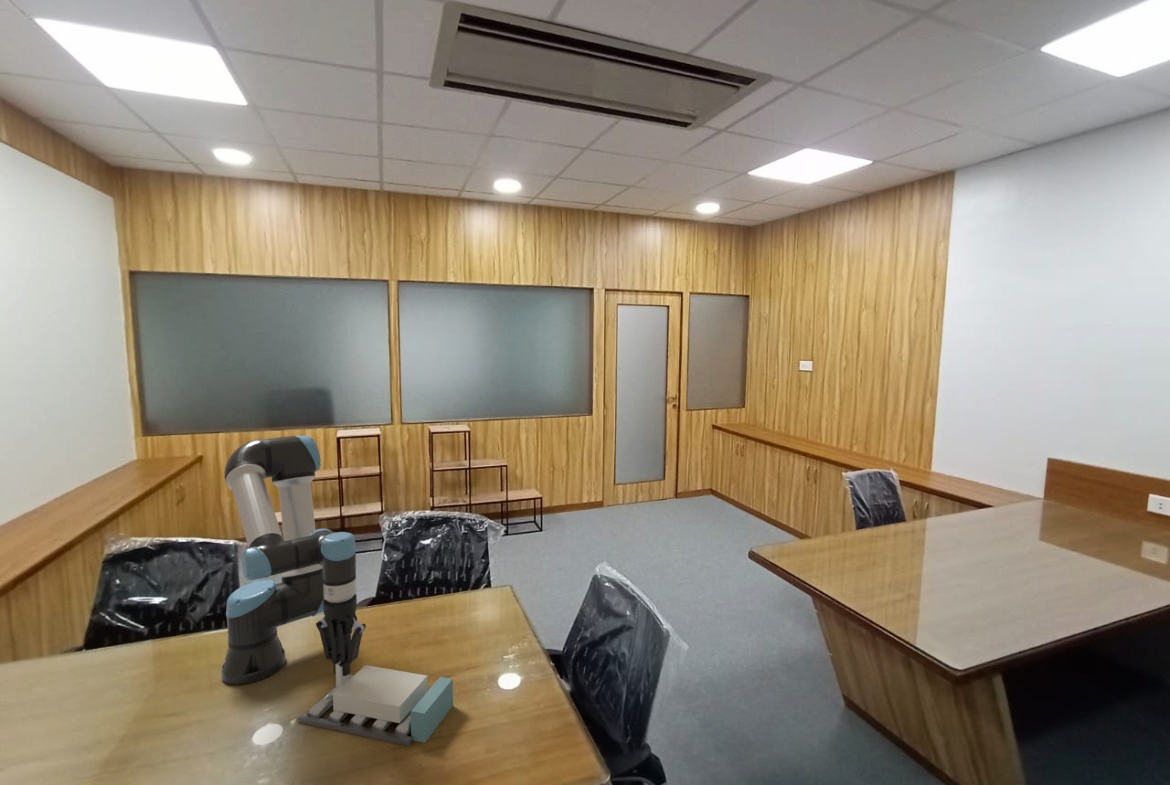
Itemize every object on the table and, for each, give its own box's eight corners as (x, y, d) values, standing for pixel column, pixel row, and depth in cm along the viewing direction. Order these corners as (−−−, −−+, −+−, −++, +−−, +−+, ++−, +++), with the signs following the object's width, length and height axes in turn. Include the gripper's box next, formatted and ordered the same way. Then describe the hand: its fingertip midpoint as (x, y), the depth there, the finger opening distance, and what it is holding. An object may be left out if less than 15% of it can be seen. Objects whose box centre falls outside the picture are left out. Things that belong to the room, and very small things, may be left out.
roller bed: (409, 745, 117) (408, 733, 116) (298, 722, 124) (297, 710, 124) (445, 699, 132) (445, 688, 132) (345, 681, 140) (345, 670, 140)
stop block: (411, 740, 118) (410, 711, 118) (440, 703, 131) (440, 676, 130) (424, 742, 118) (424, 713, 117) (453, 705, 130) (452, 678, 130)
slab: (333, 710, 124) (332, 694, 124) (366, 679, 135) (365, 665, 135) (399, 723, 119) (399, 706, 119) (427, 690, 131) (427, 675, 131)
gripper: (306, 600, 126) (309, 691, 128) (352, 606, 123) (355, 700, 125) (328, 586, 134) (330, 673, 136) (372, 592, 131) (374, 681, 133)
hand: (342, 686), depth 130 cm, fingers closed
